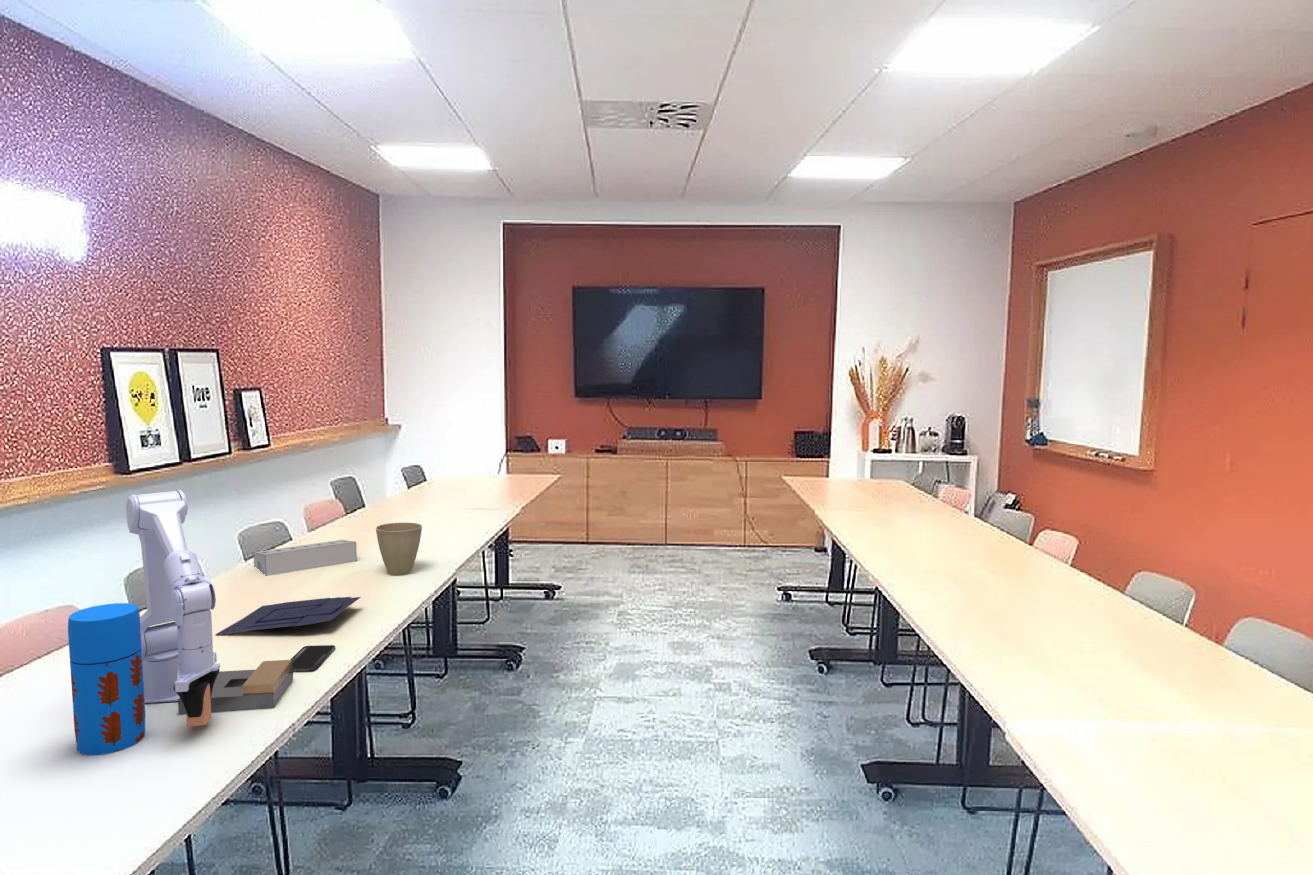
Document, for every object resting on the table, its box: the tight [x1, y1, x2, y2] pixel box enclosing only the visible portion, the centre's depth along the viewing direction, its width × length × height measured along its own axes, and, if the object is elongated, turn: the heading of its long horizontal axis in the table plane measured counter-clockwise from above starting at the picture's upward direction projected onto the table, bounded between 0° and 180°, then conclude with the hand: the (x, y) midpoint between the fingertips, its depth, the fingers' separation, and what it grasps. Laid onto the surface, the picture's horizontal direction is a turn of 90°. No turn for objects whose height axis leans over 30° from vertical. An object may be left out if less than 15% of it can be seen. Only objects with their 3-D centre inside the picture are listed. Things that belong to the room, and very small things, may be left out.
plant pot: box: [375, 522, 423, 576], centre depth 259 cm, size 15×15×16 cm
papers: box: [214, 596, 362, 635], centre depth 211 cm, size 24×30×4 cm
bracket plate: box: [177, 659, 294, 715], centre depth 163 cm, size 18×14×5 cm
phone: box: [289, 644, 336, 674], centre depth 184 cm, size 8×1×15 cm
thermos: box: [67, 602, 146, 756], centre depth 143 cm, size 11×11×25 cm
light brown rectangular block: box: [185, 683, 212, 727], centre depth 149 cm, size 3×3×7 cm
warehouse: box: [253, 539, 358, 577], centre depth 269 cm, size 30×14×8 cm, turn 131°
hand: (198, 712), depth 149 cm, fingers closed on light brown rectangular block, 3 cm apart
